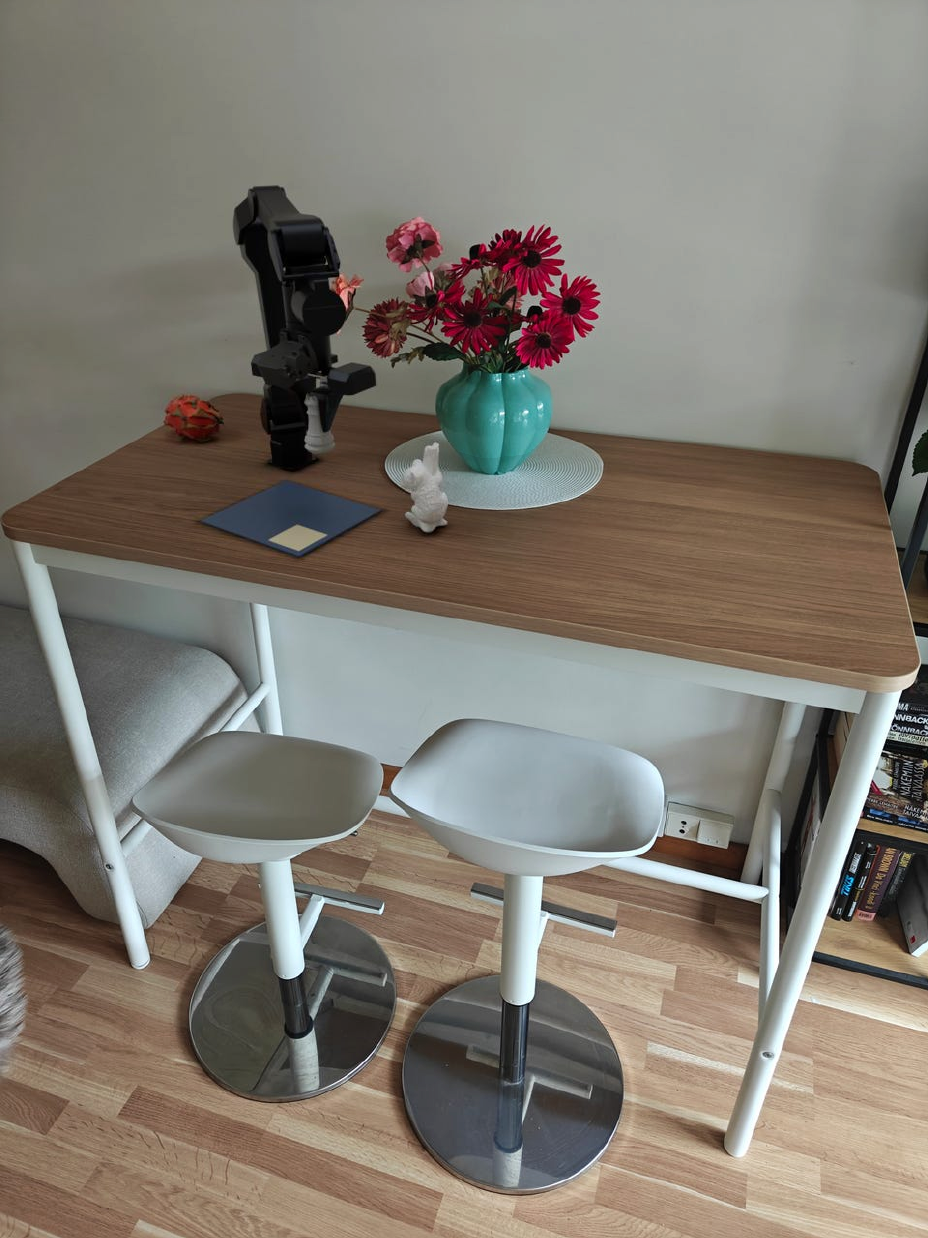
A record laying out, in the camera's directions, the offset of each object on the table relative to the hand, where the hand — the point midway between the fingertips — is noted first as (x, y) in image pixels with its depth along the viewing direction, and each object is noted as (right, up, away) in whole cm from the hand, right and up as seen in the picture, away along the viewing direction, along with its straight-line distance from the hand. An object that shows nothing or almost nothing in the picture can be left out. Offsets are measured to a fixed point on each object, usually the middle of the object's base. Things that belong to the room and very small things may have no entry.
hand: (318, 429), depth 128 cm
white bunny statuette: (+16, -14, +3) cm, 21 cm away
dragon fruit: (-28, +6, +34) cm, 44 cm away
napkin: (-5, -12, +5) cm, 14 cm away
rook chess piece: (0, -3, +2) cm, 3 cm away
